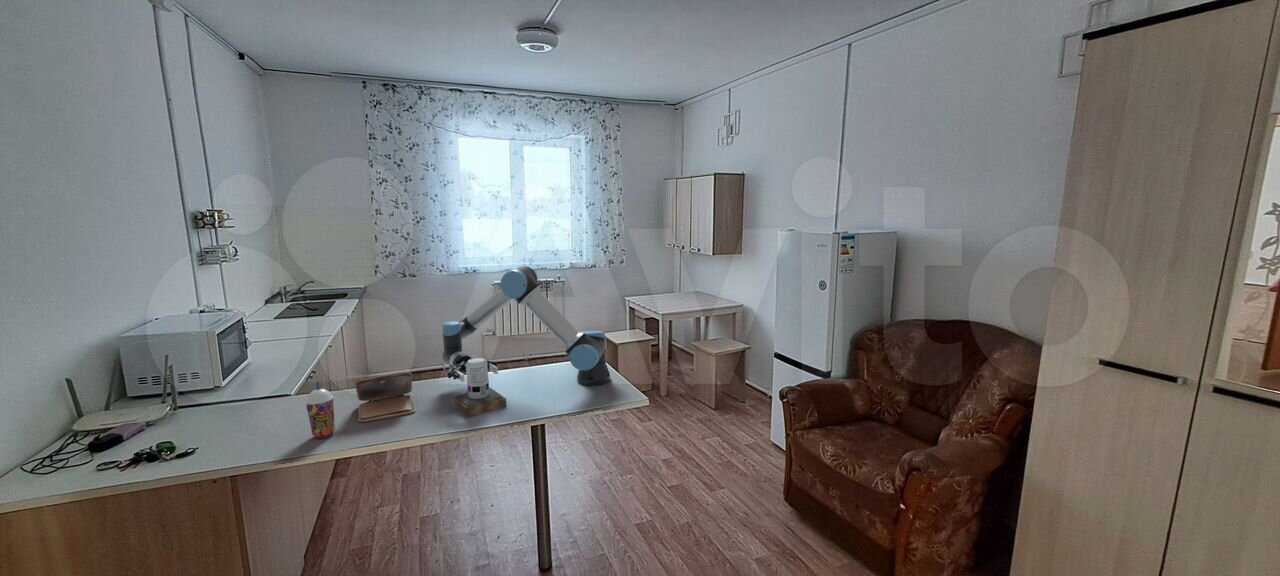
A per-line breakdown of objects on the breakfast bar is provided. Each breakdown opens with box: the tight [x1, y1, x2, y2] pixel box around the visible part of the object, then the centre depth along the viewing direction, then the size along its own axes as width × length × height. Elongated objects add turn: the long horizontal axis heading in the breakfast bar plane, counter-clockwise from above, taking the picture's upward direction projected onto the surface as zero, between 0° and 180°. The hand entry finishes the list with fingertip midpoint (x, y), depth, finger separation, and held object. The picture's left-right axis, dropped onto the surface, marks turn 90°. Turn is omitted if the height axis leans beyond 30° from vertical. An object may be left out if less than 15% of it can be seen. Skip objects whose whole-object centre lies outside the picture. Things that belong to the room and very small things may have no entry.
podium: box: [452, 387, 508, 418], centre depth 205 cm, size 16×16×4 cm
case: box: [354, 370, 417, 424], centre depth 201 cm, size 20×21×16 cm
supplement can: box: [465, 357, 490, 399], centre depth 203 cm, size 8×8×15 cm
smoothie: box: [305, 381, 336, 440], centre depth 178 cm, size 8×8×20 cm
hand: (480, 374), depth 200 cm, fingers open, 13 cm apart
